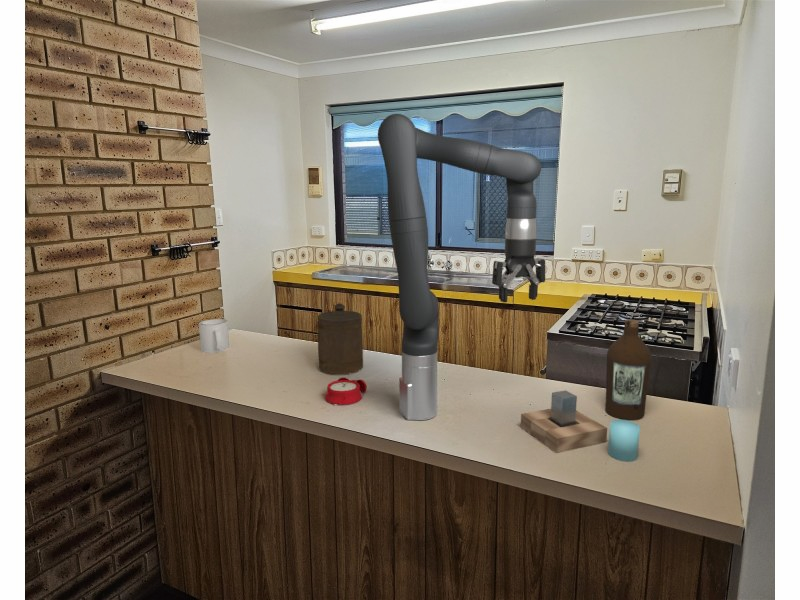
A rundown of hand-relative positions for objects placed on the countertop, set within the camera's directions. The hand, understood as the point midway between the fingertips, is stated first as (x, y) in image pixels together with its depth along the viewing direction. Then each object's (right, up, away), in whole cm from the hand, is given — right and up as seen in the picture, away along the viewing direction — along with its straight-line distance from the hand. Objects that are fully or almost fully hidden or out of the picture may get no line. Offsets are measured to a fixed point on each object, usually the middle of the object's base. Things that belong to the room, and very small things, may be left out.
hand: (518, 300), depth 130 cm
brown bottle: (+29, -30, +4) cm, 42 cm away
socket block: (+9, -32, -8) cm, 34 cm away
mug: (-100, -19, +63) cm, 120 cm away
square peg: (+9, -32, -8) cm, 34 cm away
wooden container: (-50, -23, +42) cm, 69 cm away
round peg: (+19, -34, -17) cm, 43 cm away
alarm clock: (-46, -28, +17) cm, 56 cm away
